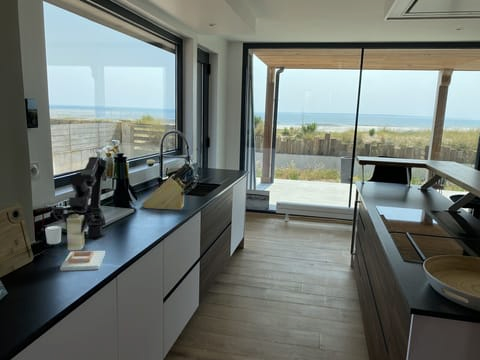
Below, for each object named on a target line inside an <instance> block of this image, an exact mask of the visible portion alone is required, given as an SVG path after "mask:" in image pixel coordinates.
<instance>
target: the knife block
mask: <svg viewBox="0 0 480 360" xmlns="http://www.w3.org/2000/svg"><path fill="white" fill-rule="evenodd" d="M194 169H195V167H194V166H193V165H191V164H190V162H189V161H187V162H185V163H184V164H183V165H182V166H181V167H180V168H179V169H178V170H176V172H174V173H173V174H172V175H171V176H170V177H169V178H168V179H166V180H165V181H164V182H163V183H162V184H161V185H160V186H159V187H158V188H157V189H156V190H155V191H153V192H152V193H151V195H149V196H148V197H147V198H146V199H144V201H143V202H141V206H142V207H143V208H144V209H145V208H146V209H158V210H176V211H181V210H182V209H183V207H184V205H185V195H186V194H188V193H189V192H191V190H193V189H195V187H196V186H197V184H198V183H197V182H194V181H195V180H197V178H198V177H199V175H198V174H195V175H191V176H190V177H189V178H188V179H186V180H185V182H184V183H183V182H182V181H183V179H184V178H186V177H187V176H188V175H189V174H190V173H192V171H193V170H194ZM193 182H194V183H193Z"/></svg>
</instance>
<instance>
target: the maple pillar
mask: <svg viewBox="0 0 480 360" xmlns="http://www.w3.org/2000/svg"><path fill="white" fill-rule="evenodd" d="M83 221H84V216H83V215H78V214H72V215H70V216H69V217H68V218H67V229H66V234H67V235H66V236H67V250H68V251H82V249H83V248H85V230H84V231H83V233H81V228H82V225H83Z"/></svg>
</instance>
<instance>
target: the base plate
mask: <svg viewBox="0 0 480 360" xmlns="http://www.w3.org/2000/svg"><path fill="white" fill-rule="evenodd" d="M105 255H106V250H85V251H82V250H75V251H70V252H69V254H68V255H67V257H66V258H65V260H64V261H63V262H62V264H61V265H60V271H61V272H64V271H88V270H90V271H91V270H99V269H100V266H101V264H102V262H103V260H104V257H105Z"/></svg>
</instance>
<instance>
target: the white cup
mask: <svg viewBox="0 0 480 360" xmlns="http://www.w3.org/2000/svg"><path fill="white" fill-rule="evenodd" d="M44 231H45V237H46V244H48V245H57V244H60V243H61V241H62V239H61V238H62V227H61V226H60V225H52V226H47V227H45V228H44Z"/></svg>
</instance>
